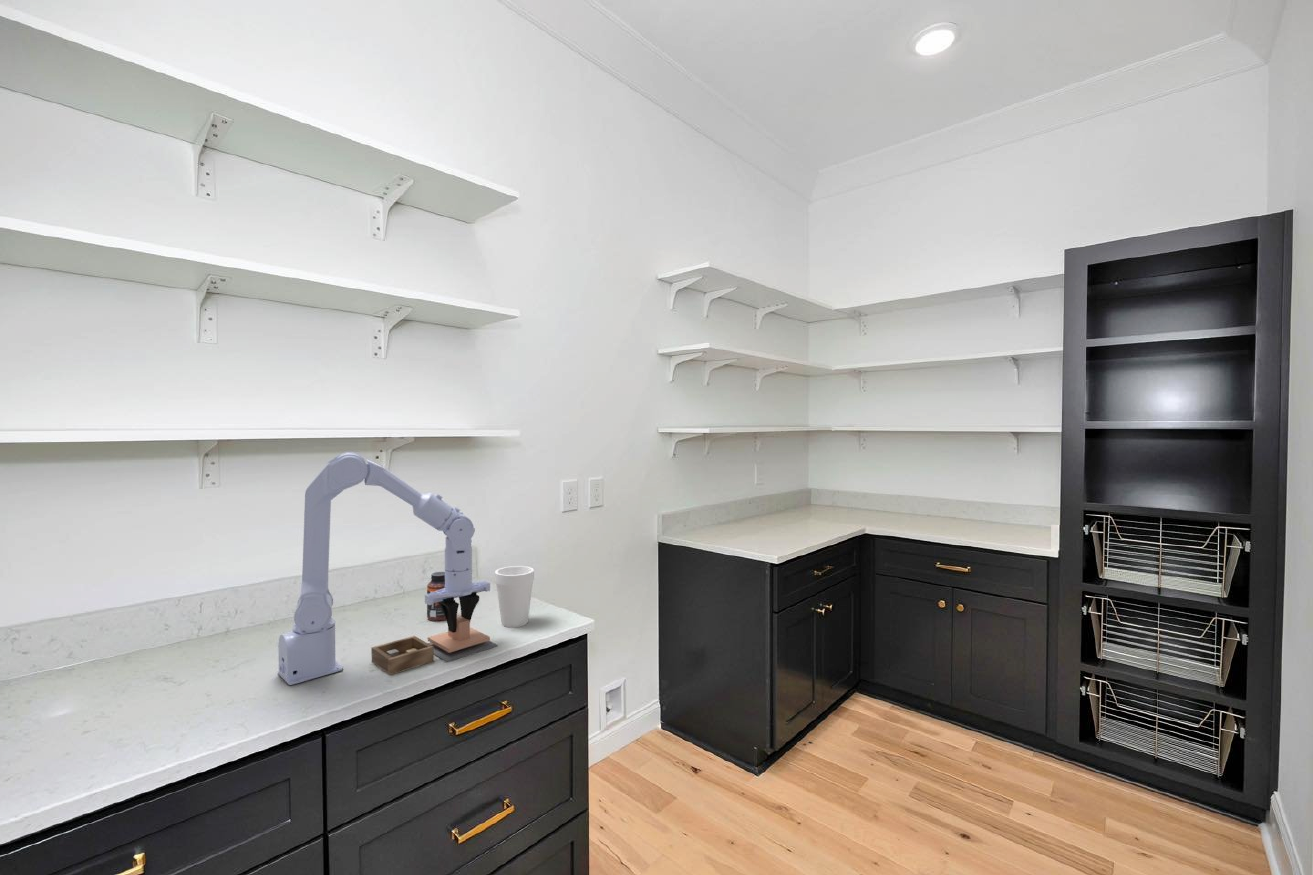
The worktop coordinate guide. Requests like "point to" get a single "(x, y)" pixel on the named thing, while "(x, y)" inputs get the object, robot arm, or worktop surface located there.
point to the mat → (461, 651)
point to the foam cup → (514, 594)
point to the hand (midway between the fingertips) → (458, 629)
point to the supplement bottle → (436, 584)
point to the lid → (459, 637)
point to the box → (402, 654)
